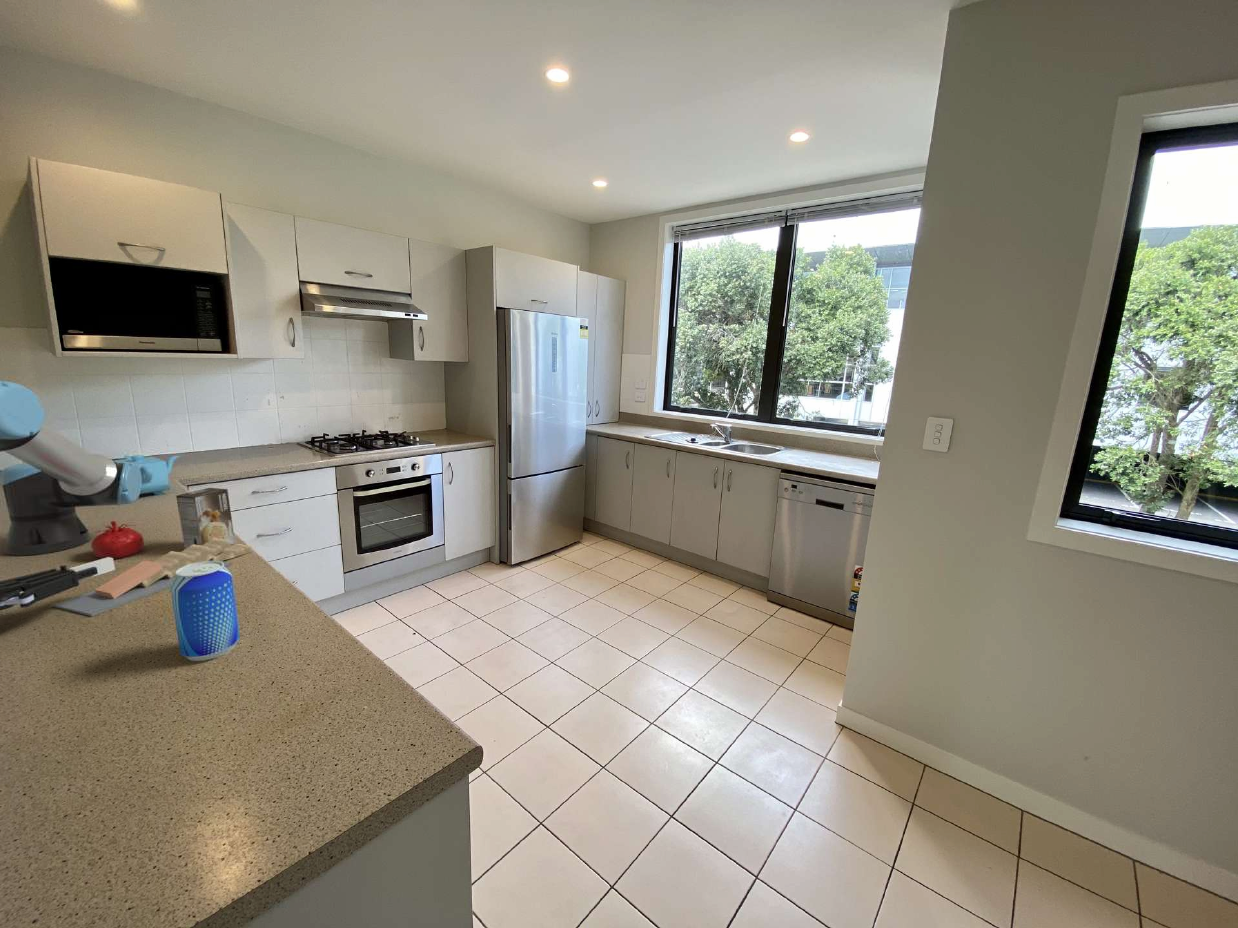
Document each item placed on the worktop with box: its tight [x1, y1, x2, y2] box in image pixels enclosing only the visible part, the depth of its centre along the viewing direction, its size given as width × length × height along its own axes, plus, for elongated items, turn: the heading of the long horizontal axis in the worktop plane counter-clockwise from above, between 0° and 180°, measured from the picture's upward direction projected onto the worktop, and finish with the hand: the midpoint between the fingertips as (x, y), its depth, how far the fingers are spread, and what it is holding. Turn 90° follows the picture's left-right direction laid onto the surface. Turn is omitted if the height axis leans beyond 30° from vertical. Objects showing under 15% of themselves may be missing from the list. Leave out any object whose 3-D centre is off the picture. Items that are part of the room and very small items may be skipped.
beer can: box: [169, 561, 241, 662], centre depth 89 cm, size 8×8×16 cm
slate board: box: [51, 560, 233, 617], centre depth 115 cm, size 12×28×1 cm, turn 164°
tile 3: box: [163, 544, 211, 579], centre depth 121 cm, size 2×5×10 cm
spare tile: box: [94, 560, 163, 599], centre depth 111 cm, size 2×5×10 cm
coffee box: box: [175, 487, 236, 550], centre depth 136 cm, size 9×6×16 cm
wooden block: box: [208, 543, 253, 561], centre depth 131 cm, size 2×5×10 cm
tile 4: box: [195, 538, 231, 563], centre depth 126 cm, size 2×5×10 cm
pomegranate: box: [91, 520, 145, 560], centre depth 130 cm, size 10×10×9 cm
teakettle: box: [114, 454, 181, 499], centre depth 184 cm, size 19×19×15 cm
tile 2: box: [136, 550, 189, 588], centre depth 117 cm, size 2×5×10 cm
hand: (111, 563), depth 108 cm, fingers closed
